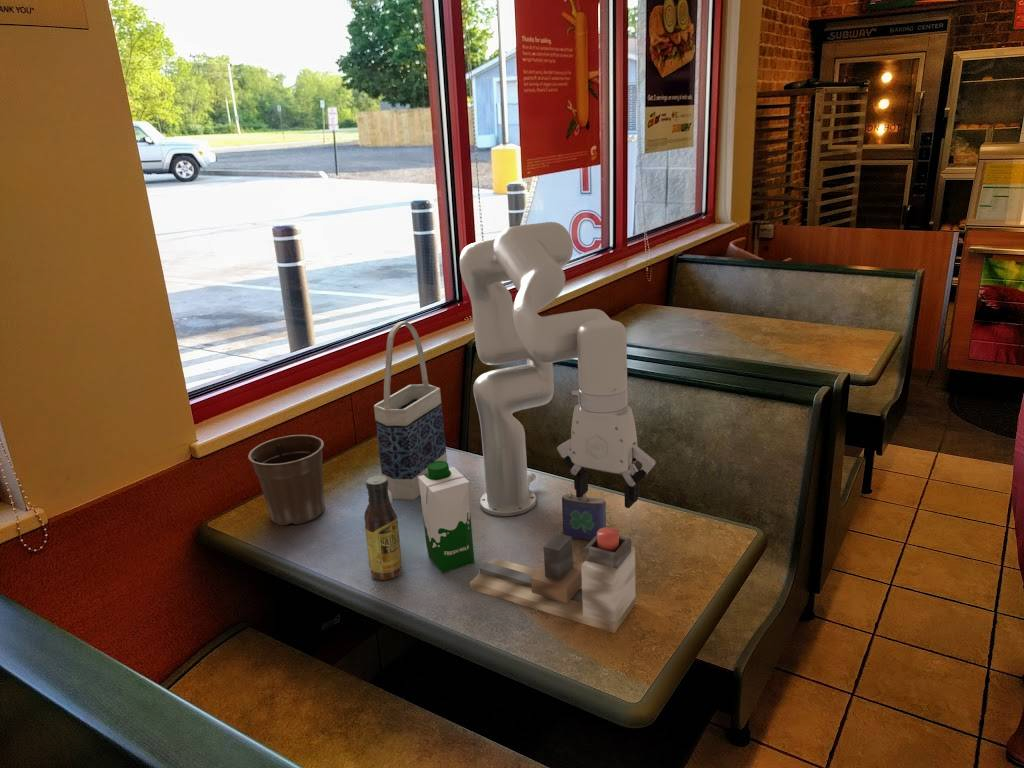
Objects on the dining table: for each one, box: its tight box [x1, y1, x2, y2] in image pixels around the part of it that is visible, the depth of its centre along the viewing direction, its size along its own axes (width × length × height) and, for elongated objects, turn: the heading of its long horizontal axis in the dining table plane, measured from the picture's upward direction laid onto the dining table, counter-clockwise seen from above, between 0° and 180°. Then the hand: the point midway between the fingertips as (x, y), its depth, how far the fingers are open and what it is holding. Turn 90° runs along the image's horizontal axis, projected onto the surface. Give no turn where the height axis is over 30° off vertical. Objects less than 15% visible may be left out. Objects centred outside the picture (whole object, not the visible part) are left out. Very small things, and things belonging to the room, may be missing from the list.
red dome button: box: [597, 526, 620, 552], centre depth 128 cm, size 4×4×3 cm
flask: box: [561, 491, 607, 543], centre depth 155 cm, size 9×3×11 cm, turn 68°
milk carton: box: [418, 461, 475, 575], centre depth 148 cm, size 9×9×20 cm
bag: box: [373, 320, 448, 500], centre depth 179 cm, size 18×9×40 cm, turn 153°
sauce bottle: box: [363, 475, 403, 581], centre depth 146 cm, size 7×6×20 cm
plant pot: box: [248, 434, 326, 526], centre depth 172 cm, size 16×16×16 cm
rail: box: [469, 535, 636, 634], centre depth 136 cm, size 29×9×14 cm, turn 59°
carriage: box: [531, 532, 583, 603], centre depth 135 cm, size 7×8×9 cm
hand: (606, 498), depth 125 cm, fingers open, 8 cm apart
